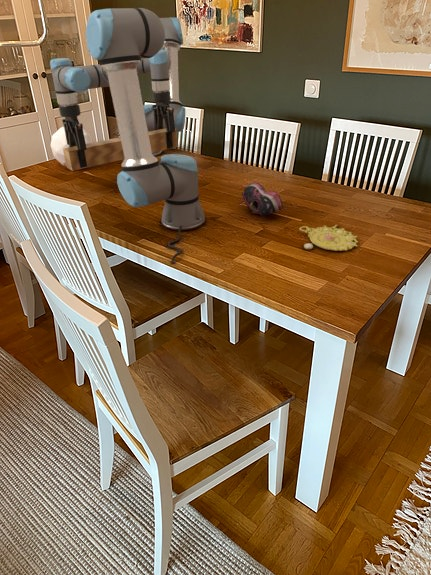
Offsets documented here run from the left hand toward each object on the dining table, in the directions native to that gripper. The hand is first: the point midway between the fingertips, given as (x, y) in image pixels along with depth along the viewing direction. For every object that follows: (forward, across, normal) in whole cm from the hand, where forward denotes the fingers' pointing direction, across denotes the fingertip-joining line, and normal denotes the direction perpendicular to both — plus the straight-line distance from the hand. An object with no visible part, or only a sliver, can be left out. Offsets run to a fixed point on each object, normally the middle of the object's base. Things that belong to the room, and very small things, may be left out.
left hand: (166, 146), depth 201 cm
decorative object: (+11, -96, +2) cm, 97 cm away
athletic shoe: (+11, -64, +3) cm, 65 cm away
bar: (+1, 0, +21) cm, 21 cm away
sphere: (+11, +35, +30) cm, 47 cm away
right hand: (0, 0, +42) cm, 42 cm away
